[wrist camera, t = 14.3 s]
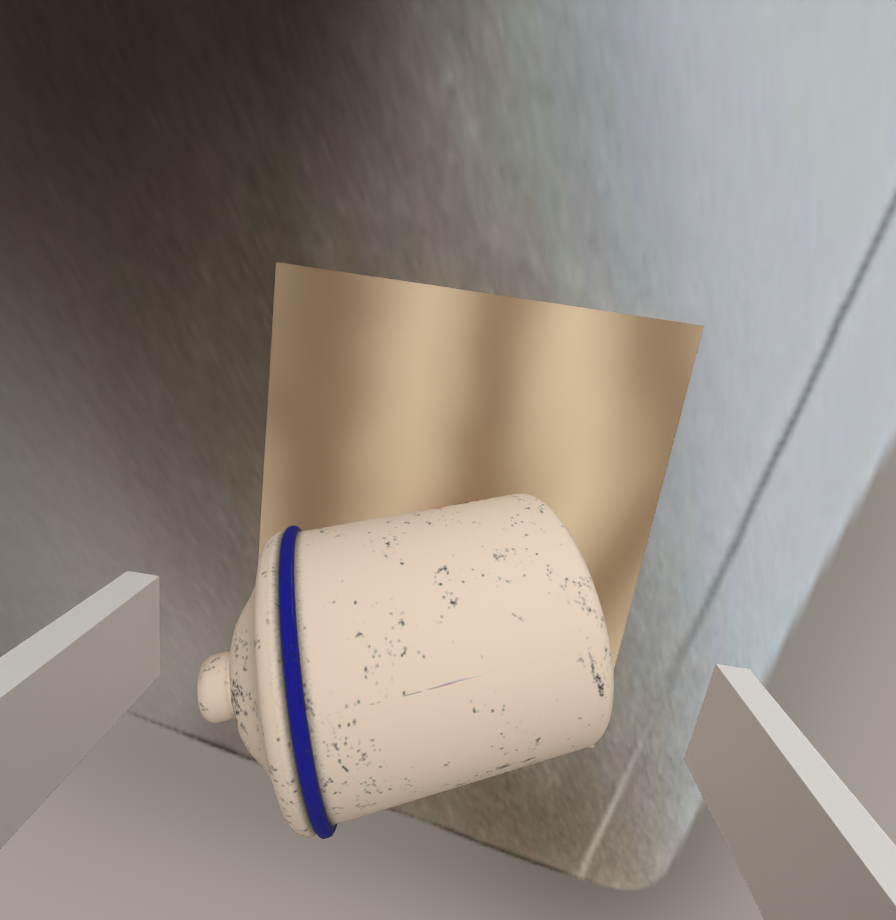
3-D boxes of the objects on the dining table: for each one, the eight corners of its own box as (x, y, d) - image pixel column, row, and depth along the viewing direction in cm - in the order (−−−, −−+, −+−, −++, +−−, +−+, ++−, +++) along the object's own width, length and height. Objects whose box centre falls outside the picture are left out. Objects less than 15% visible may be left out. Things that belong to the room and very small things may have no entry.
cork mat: (255, 682, 24) (250, 691, 24) (282, 264, 20) (275, 261, 19) (590, 738, 24) (593, 747, 23) (696, 326, 19) (703, 326, 19)
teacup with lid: (514, 437, 18) (184, 486, 16) (659, 637, 11) (97, 783, 9) (496, 633, 25) (263, 688, 23) (580, 835, 18) (251, 949, 16)
